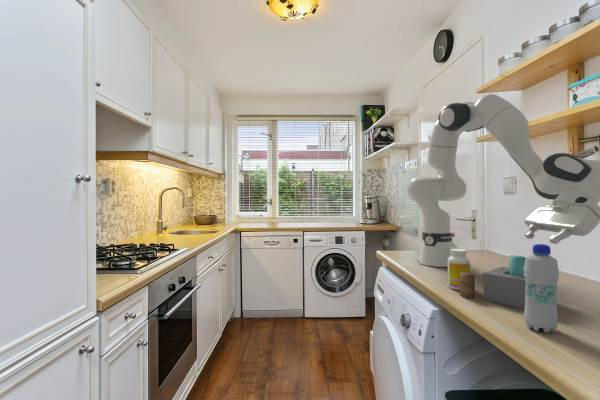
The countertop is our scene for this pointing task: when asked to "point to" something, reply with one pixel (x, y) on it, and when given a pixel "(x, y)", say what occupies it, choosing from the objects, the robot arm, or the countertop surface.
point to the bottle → (541, 289)
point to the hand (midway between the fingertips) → (539, 239)
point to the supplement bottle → (457, 267)
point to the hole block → (504, 288)
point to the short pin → (467, 285)
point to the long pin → (516, 265)
